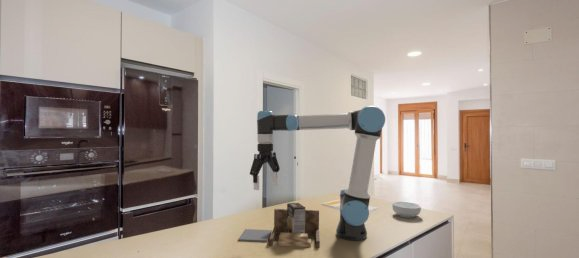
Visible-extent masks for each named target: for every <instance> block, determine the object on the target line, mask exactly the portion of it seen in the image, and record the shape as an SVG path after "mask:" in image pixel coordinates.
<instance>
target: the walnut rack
mask: <svg viewBox="0 0 579 258" xmlns="http://www.w3.org/2000/svg"><path fill="white" fill-rule="evenodd" d="M273 209H274V210H273V211H274V213H273V229H272V232H271V234H270V237H269V239H268V246H270V247H271V246H272V247H273V245H274V243H275V240H276V236H277V234H280V233H281V232H282V233H287V208H273ZM305 234H308V235H315V247H316V249H317V248H318V249H319V248H321V247H320V246H321V245H320V244H321V243H320V242H321V240H320V238H321V237H320V210H318V209H305Z"/></svg>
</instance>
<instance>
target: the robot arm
mask: <svg viewBox="0 0 579 258" xmlns="http://www.w3.org/2000/svg"><path fill="white" fill-rule="evenodd" d="M256 119H257V120H256V125H257V126H256V128H257V145H256V146H257V147H256V148H257V152H258V153H254V155H253V161H252V165H251V168H250V170H249V175H251V176H252V184H253V190H255V191H260V175H259V174H260V171H261V170H262V167H263V165H264V164H266V163H267V164H268V165H269V167H270V169H271V175H270V176H271V178H270V179H271V186H277V185H278V180H277V179H278V172H279V171H280V170H281V169H280V165H279V161H278V159H277V153H276V152H275V151H274V143H273V142H274V131H278V132H279V131H282V132H283V131H288V132H290V131H291V132H292V131H308V130H309V131H315V130H339V129H340V130H341V129H343V130H344V129H348V130H349V131H354V135H355V137H356V143H355V148H354V154H353V160H352V167H351V173H350V177H349V184H348V188H347V189H346V188H345V189H341V190H340V193H339V221H338V224H337V227H336V233H335V234H336V236H337V237H339V238H341V239H343V240H346V241H362V240H365V239H367V237H368V231H367V228H366V225H365V223H366V222H367V221H368V219H369V217H370V210H369V207H370V206H369V204H370V199H371V196H370V195H369V194H370V193H368V192H369V191H368V190H369V184H370V179H371V173H372V168H373V161H374V155H375V151H376V144H377V141H378V140H380V139H381V135H382V130H383V128H384V126H385V123H386V116H385V113H384V112H383V110H382V109H381V108H379V107H377V106H375V105H368V106H364V107H363V108H362V109H359V110H353V111H351V110H350V111H349V112H348V113H331V114H327V113H326V114H311V115H309V114H308V115H297V114H274V113H273V111H271V110H259V111H258V112H257V117H256Z"/></svg>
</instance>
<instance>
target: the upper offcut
mask: <svg viewBox="0 0 579 258" xmlns="http://www.w3.org/2000/svg"><path fill="white" fill-rule="evenodd" d="M308 239H309V234H304V233H282V232H281V233H279V235H278V240H279V241H292V242H308Z"/></svg>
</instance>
